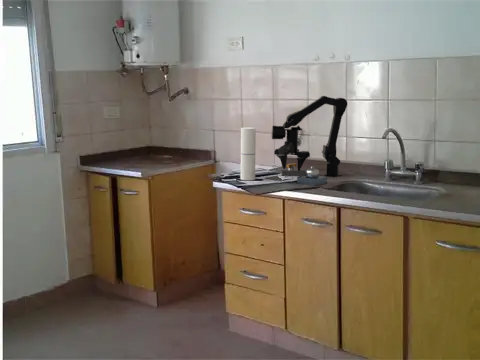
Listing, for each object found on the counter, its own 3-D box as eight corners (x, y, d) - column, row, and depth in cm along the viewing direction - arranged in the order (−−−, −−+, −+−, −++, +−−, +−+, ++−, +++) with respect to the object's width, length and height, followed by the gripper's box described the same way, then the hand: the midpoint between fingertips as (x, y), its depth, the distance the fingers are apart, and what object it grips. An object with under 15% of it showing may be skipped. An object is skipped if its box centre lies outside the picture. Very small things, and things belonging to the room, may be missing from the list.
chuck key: (292, 174, 295) (292, 163, 294) (297, 175, 293) (297, 163, 292) (285, 175, 291) (285, 164, 290) (289, 176, 289) (290, 164, 288)
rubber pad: (277, 176, 291) (277, 175, 291) (293, 178, 284) (293, 177, 284) (264, 178, 283) (264, 177, 283) (280, 181, 277) (280, 180, 277)
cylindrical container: (238, 179, 280) (238, 128, 275) (243, 177, 286) (244, 127, 282) (252, 180, 277) (252, 128, 273) (257, 178, 284) (257, 127, 279)
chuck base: (309, 180, 279) (309, 174, 278) (326, 183, 272) (326, 176, 272) (296, 183, 271) (297, 176, 271) (314, 185, 265) (314, 179, 264)
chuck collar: (317, 175, 275) (317, 165, 274) (320, 177, 268) (320, 167, 267) (280, 175, 273) (280, 165, 273) (282, 177, 267) (282, 167, 266)
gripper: (267, 139, 289) (267, 169, 292) (297, 142, 277) (296, 173, 280) (281, 137, 298) (280, 167, 300) (310, 140, 285) (310, 171, 288)
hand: (291, 169), depth 292 cm, fingers open, 9 cm apart
